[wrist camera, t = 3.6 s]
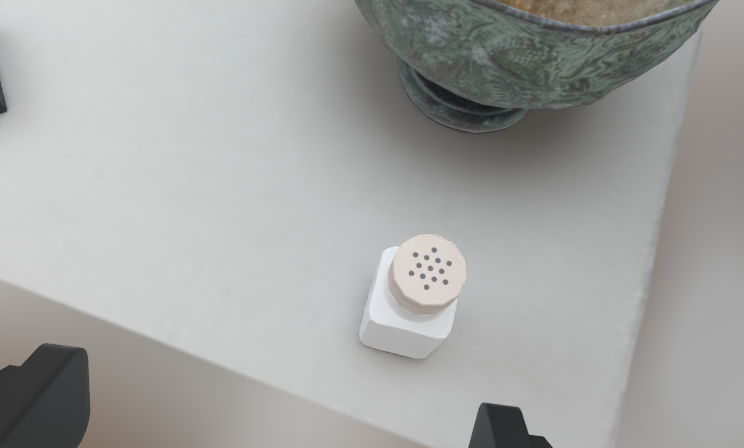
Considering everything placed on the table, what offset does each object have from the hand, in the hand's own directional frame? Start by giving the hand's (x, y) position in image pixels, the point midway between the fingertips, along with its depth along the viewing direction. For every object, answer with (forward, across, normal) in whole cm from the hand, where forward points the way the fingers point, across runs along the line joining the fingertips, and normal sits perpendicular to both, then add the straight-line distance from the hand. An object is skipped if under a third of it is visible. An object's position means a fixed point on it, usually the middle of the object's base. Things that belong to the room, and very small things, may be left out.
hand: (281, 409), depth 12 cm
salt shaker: (+19, -4, +9) cm, 22 cm away
